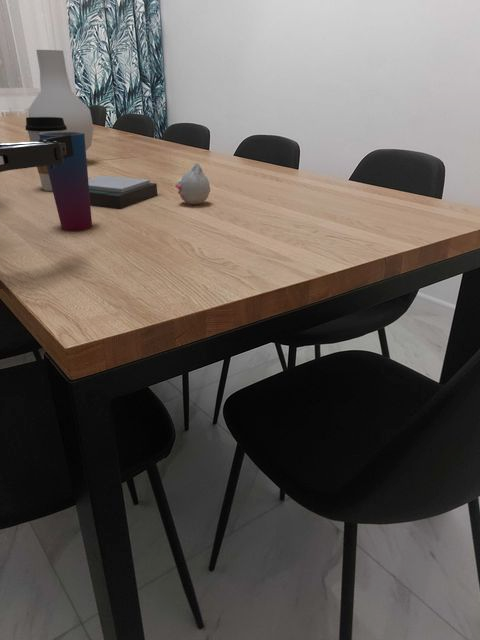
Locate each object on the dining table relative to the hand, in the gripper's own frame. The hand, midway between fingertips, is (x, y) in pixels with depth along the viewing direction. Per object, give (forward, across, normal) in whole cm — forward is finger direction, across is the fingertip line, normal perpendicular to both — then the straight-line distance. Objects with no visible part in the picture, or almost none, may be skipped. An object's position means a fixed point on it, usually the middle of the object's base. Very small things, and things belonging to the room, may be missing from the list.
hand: (26, 143), depth 71 cm
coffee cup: (+38, -21, -14) cm, 45 cm away
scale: (+32, -4, -14) cm, 35 cm away
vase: (+70, -36, -14) cm, 80 cm away
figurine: (+32, +14, -15) cm, 38 cm away
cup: (+10, 0, -15) cm, 18 cm away
